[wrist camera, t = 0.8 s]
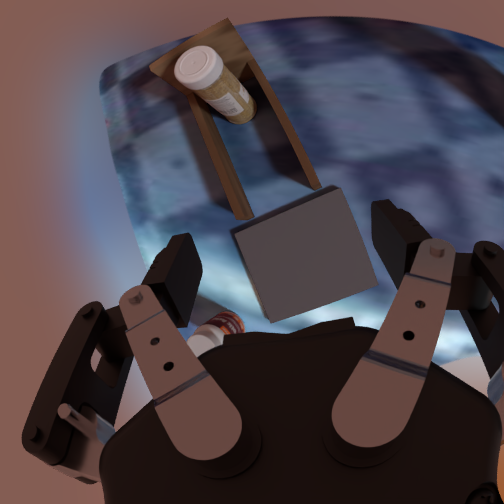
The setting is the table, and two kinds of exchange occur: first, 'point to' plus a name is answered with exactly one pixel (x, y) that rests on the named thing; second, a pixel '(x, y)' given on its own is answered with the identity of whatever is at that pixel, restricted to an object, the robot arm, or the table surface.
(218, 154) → the shelf lane
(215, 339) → the pill bottle
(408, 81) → the table surface
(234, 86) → the sprinkles bottle
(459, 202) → the table surface
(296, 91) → the table surface
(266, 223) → the rubber mat
